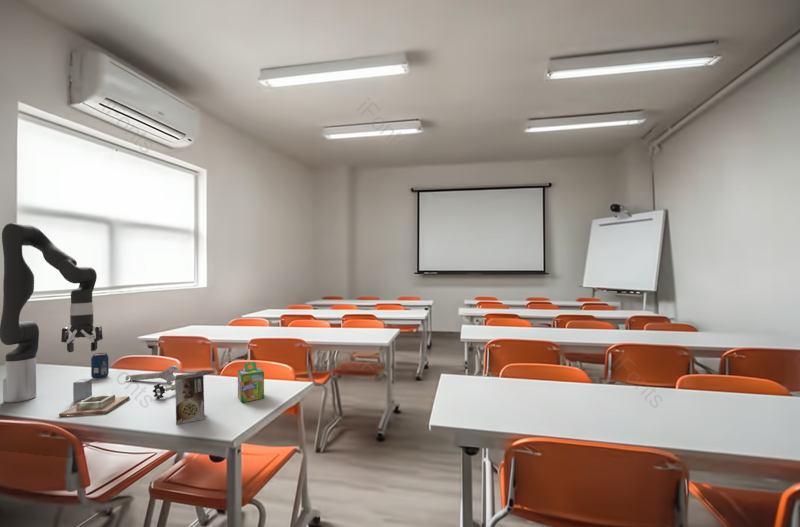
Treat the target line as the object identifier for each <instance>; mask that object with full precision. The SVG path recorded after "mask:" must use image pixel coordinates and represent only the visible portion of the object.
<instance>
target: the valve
mask: <svg viewBox="0 0 800 527" xmlns="http://www.w3.org/2000/svg"><path fill="white" fill-rule="evenodd" d="M153 388H154V389H152V393H154V394H153V397H154V398H156V400H161V399H163V398H164V397H165V396H164V395H163V394H165V393H166V392H168V391H172V392H173V391H174V392H175V394H176V391H175V382H172V383H171V384H170V385H168V386H166V387H164V385H161V383H160V382H159V383H157V384H155V385H153ZM160 398H161V399H160Z"/></svg>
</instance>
